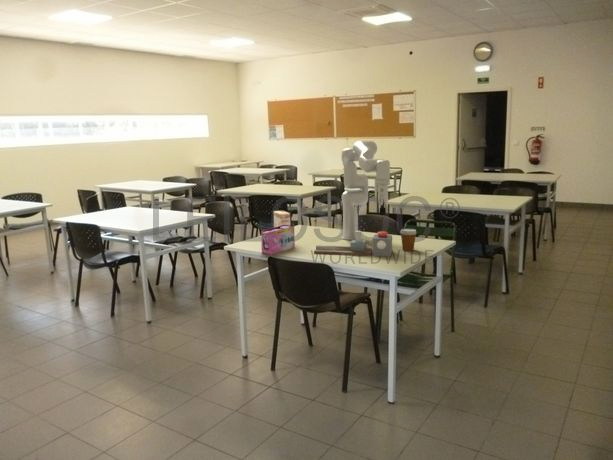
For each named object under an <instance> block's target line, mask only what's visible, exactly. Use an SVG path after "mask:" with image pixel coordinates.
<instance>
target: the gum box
mask: <svg viewBox="0 0 613 460" xmlns="http://www.w3.org/2000/svg"><path fill="white" fill-rule="evenodd" d="M260 236H261V254H262V253H263V254H267V255H273V254H277V253H281V252H284V251H287V250H291V249H294V248H296V244H295V241H296V240H295V226H294V225H291V224H290V225H282V226H278V227H274V226H273V227H271V228H267V229H262V230H261V235H260Z"/></svg>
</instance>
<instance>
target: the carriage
mask: <svg viewBox="0 0 613 460" xmlns="http://www.w3.org/2000/svg"><path fill="white" fill-rule="evenodd" d="M366 245H367V240H365V239H362V231H361V230H358V231H355V240H350V245H349V246H350V248H351V251H365V247H367V246H366Z"/></svg>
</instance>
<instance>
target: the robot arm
mask: <svg viewBox="0 0 613 460" xmlns="http://www.w3.org/2000/svg"><path fill="white" fill-rule="evenodd" d="M352 146H353V147H346V148H344V149H343V150H342V152H341V161H342V165H343V186H344V188H346V189H350V190H346V191H344V192H343V193H342V194H341V202H342V204H341V205H342V222H343V223H342V225H343V226H342V227H343V230H342V232H343V233H342V234H343V235H341V236H340V238H341V239H342V240H344V241H345V240H346V241H347V240H348V241H352V240H355V231H359V230H358V229H359V228H358V227H359V226H358V225H359V224H358V222H359V221H358V220H359V217H358V215H359V214H358V209H357V208H356V207H355V206H359V205H366V204H367V203H368V200H369V179H368V176H367V175H366V173H367V174H369V173H375V177H376V179H375V185H376V186H377V187H378V188H377V194H378V195H377V198H378V199H377V202H378V203H379V215H380V216H381V215H382V216H385V215H386V213H387V212H386V211H387V209H386V204H387V203H388V202H389V186H390V183H391V182H390V180H391V178H390V177H391V176H390V175H391V170H390V169H391V162H390V160H387V159H384V158H375V154H376V153H377V151H378V146H377V143H376V142H375V141H373V140H357V141H356V142H355V143H354V144H353V145H352ZM374 158H375V159H374ZM355 162H358V165H359V168H360V169H361V170H362V171H363V172H364V173H358V167H357V164H356V163H355ZM351 189H353V190H351ZM354 189H355V190H354ZM356 189H359V190H356Z"/></svg>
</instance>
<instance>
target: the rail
mask: <svg viewBox="0 0 613 460" xmlns="http://www.w3.org/2000/svg"><path fill="white" fill-rule="evenodd" d="M313 254H315V255H316V254H317V255H339V254H347V255H346V256H372V255H373V246H366V247H365V251H351V248H350V245H349V246H348V245H322V244H321V245H320V244H317V245H315V249H314V251H313Z"/></svg>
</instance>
